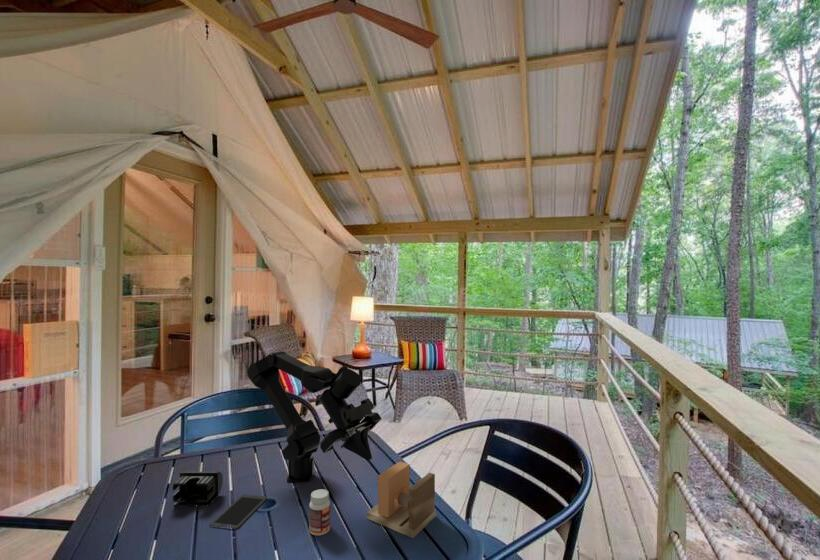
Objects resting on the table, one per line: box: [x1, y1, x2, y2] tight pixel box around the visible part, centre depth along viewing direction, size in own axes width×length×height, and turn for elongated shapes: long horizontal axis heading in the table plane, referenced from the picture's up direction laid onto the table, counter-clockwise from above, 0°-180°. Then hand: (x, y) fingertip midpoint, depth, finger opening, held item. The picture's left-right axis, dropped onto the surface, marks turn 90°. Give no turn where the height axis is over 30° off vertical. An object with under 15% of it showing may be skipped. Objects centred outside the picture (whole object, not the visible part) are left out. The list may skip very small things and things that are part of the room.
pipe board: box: [366, 472, 437, 539], centre depth 99 cm, size 13×10×10 cm
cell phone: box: [209, 494, 268, 531], centre depth 101 cm, size 7×14×1 cm, turn 169°
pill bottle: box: [308, 488, 331, 536], centre depth 94 cm, size 5×5×8 cm
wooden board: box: [377, 461, 411, 518], centre depth 100 cm, size 3×9×9 cm, turn 146°
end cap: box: [172, 471, 224, 507], centre depth 107 cm, size 10×7×7 cm
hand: (370, 459), depth 104 cm, fingers closed
